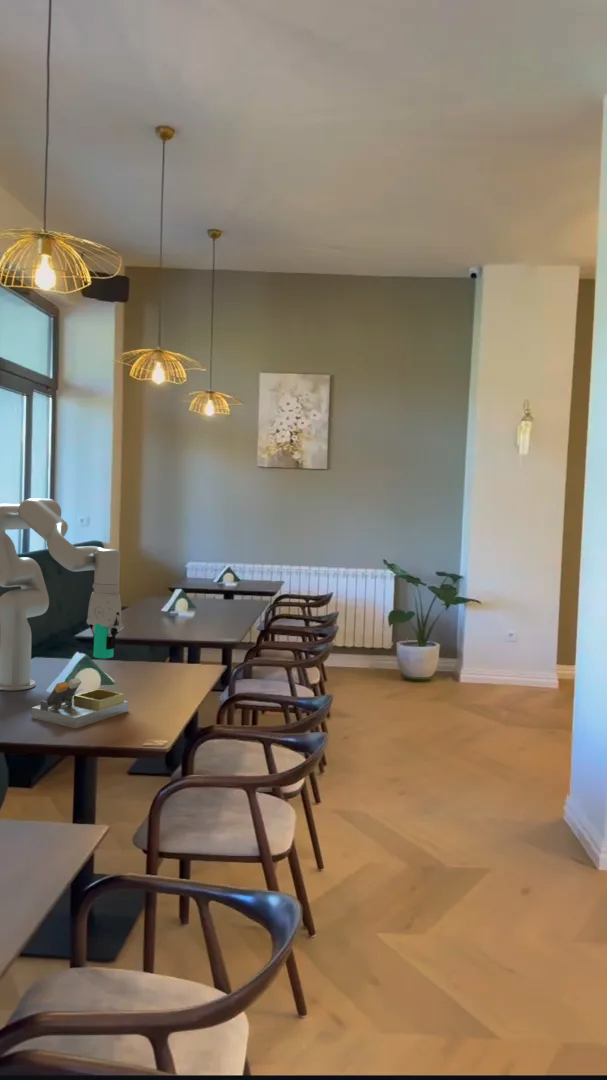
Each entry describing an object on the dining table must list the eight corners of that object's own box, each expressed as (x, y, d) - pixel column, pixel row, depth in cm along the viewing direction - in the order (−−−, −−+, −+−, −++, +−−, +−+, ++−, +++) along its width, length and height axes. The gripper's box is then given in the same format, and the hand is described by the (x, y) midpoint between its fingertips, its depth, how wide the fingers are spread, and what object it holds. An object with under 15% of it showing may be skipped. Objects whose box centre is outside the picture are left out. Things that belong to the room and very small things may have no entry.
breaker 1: (43, 705, 215) (57, 683, 212) (51, 703, 217) (65, 681, 215) (46, 709, 214) (60, 687, 211) (55, 707, 217) (69, 685, 214)
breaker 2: (56, 701, 219) (70, 679, 216) (64, 699, 222) (78, 677, 219) (60, 705, 218) (73, 683, 216) (68, 703, 221) (81, 681, 218)
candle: (107, 659, 232) (109, 620, 231) (89, 657, 233) (91, 618, 232) (116, 655, 238) (118, 617, 237) (98, 653, 239) (100, 615, 238)
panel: (31, 717, 216) (32, 698, 215) (85, 702, 234) (86, 684, 234) (75, 728, 208) (75, 708, 207) (128, 711, 226) (128, 693, 226)
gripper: (77, 586, 235) (74, 645, 236) (118, 593, 227) (116, 653, 228) (94, 585, 242) (92, 641, 243) (135, 591, 233) (133, 649, 234)
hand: (103, 646), depth 235 cm, fingers closed on candle, 4 cm apart
